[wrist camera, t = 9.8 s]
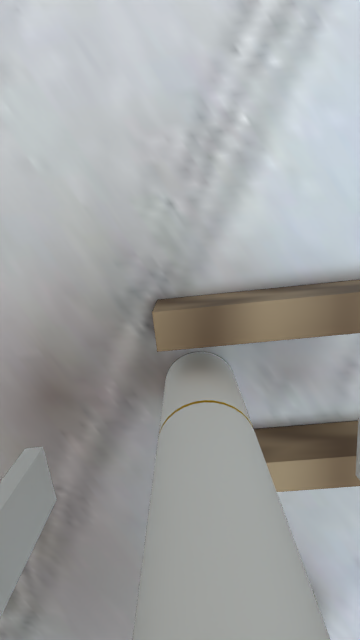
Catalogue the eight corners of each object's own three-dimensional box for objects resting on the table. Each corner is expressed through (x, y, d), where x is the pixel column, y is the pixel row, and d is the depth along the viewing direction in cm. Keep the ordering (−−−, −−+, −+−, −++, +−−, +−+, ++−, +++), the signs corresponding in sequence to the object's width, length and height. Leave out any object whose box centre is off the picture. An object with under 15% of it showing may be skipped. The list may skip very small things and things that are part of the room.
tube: (162, 354, 18) (75, 820, 4) (233, 348, 18) (442, 812, 3) (168, 417, 19) (122, 965, 5) (236, 412, 19) (401, 964, 5)
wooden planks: (177, 461, 20) (176, 499, 17) (157, 299, 17) (151, 312, 14) (457, 439, 19) (504, 475, 16) (484, 267, 16) (548, 273, 14)
